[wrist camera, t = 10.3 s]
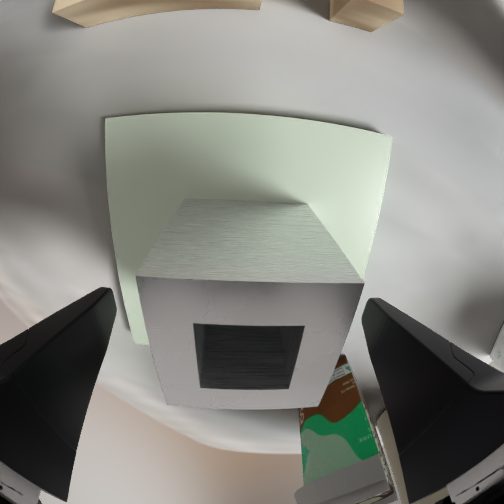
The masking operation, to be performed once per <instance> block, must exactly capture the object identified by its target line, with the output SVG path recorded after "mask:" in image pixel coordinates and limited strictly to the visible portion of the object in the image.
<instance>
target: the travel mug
mask: <svg viewBox="0 0 504 504" xmlns="http://www.w3.org/2000/svg"><path fill="white" fill-rule="evenodd" d="M377 426H378V429H379V432H380V435H381V438H382V441H383V444H384V447H385V450H386V453H387V456H388V459H389V462H390V466H391V468H392V472H393V475H394V478H395V482H396V485H397V489H398V492H399V495H400V499H401V502H402V504H409V502H408V498H407V492H406V487H405V482H404V478H403V473H402V468H401V464H400V460H399V454H398V451H397V447H396V443H395V439H394V435H393V431H392V427H391V424H390V420H389V417H388V413H387V410H385V411H384V412H383V413H382V415H381V416H380V417H379V419H378V420H377ZM448 495H449V492H448V489H447V487H445V488H443V489H442V490H440V491H438V492H436V493H434V494H432V495H430V496H427V497H425V498H423V499H421V500H419V501H417V502H414V503H412V504H435V502H437V501H439V500H441V499H443V498H445V497H447V496H448Z"/></svg>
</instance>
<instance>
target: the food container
mask: <svg viewBox="0 0 504 504" xmlns="http://www.w3.org/2000/svg"><path fill="white" fill-rule="evenodd" d="M298 410H299V422H300V435H301V449H302V464H303V481H304V486H303V487H301V488H300V489H298V490H297V491H296V492H295V493H294V497H295V499H296V502H297V504H388V503H391V502H394V501H396V500H398V499H397V495H396V491H395V487H394V484H393V481H392V477H391V474H390V471H389V468H388V465H387V461H386V459H385V455H384V452H383V449H382V446H381V443H380V440H379V437H378V434H377V431H376V428H375V425H374V422H373V419H372V417H371V414H370V411H369V408H368V406H367V403H366V401H365V399H364V396H363V394H362V392H361V389H360V387H359V385H358V382H357V380H356V378H355V376H354V373H353V371H352V369H351V367H350V364H349V362H348V360H347V358H346V355H344V356H342V357H340V358H339V359H338V361H337V364H336V366H335V369H334V371H333V374H332V376H331V378H330V381H329V383H328V385H327V388H326V390H325V392H324V394H323V397H322V399H321V401H320V403H319V405H318V406H317V407H306V408H298Z"/></svg>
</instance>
